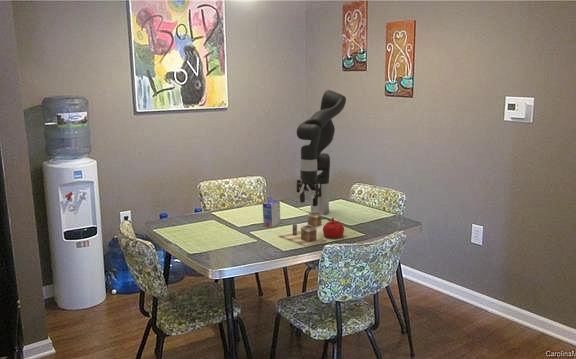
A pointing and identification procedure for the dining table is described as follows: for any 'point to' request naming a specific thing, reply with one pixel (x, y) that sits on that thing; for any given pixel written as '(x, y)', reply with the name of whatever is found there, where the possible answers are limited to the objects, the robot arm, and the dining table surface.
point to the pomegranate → (333, 229)
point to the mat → (319, 228)
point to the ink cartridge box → (271, 212)
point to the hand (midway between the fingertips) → (308, 204)
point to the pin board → (299, 237)
